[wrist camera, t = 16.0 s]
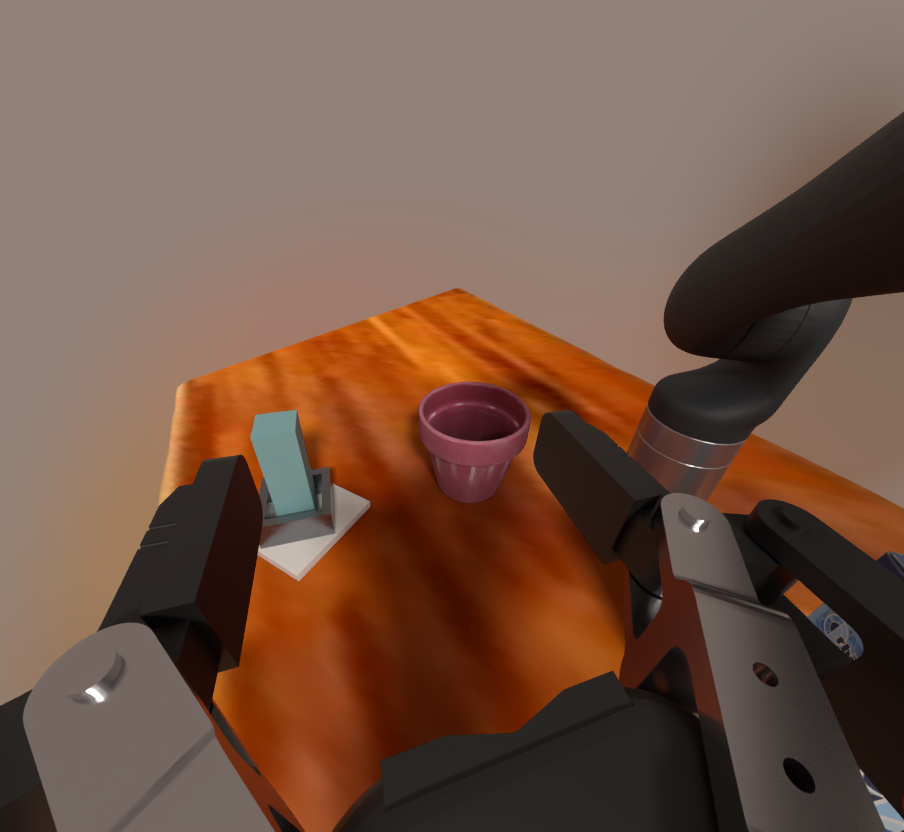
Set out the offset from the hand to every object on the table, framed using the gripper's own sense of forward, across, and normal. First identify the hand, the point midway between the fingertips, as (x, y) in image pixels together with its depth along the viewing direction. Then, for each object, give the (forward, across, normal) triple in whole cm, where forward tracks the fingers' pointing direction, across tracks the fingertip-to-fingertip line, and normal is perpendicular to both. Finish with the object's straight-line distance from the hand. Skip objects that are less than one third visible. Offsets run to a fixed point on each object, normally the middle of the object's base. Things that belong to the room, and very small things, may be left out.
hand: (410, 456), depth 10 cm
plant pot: (+27, -13, +30) cm, 43 cm away
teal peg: (+26, +9, +29) cm, 40 cm away
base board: (+26, +9, +30) cm, 41 cm away
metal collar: (+26, +9, +30) cm, 41 cm away
